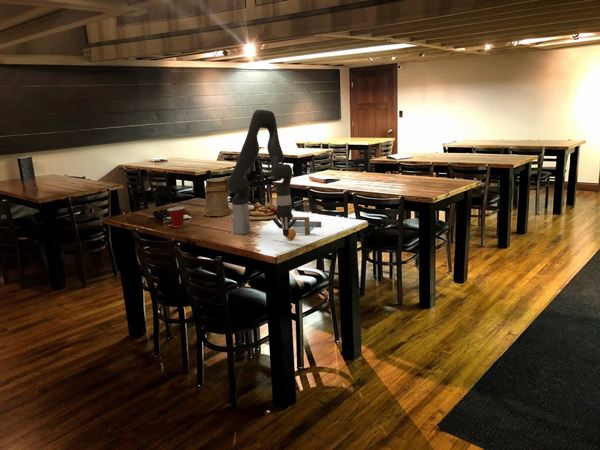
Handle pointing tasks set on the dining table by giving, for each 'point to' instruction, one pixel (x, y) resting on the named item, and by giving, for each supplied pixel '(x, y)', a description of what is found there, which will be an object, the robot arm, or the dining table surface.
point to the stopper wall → (302, 224)
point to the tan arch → (307, 224)
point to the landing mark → (301, 229)
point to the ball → (291, 234)
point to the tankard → (217, 197)
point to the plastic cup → (177, 215)
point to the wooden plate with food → (262, 212)
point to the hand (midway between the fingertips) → (286, 236)
